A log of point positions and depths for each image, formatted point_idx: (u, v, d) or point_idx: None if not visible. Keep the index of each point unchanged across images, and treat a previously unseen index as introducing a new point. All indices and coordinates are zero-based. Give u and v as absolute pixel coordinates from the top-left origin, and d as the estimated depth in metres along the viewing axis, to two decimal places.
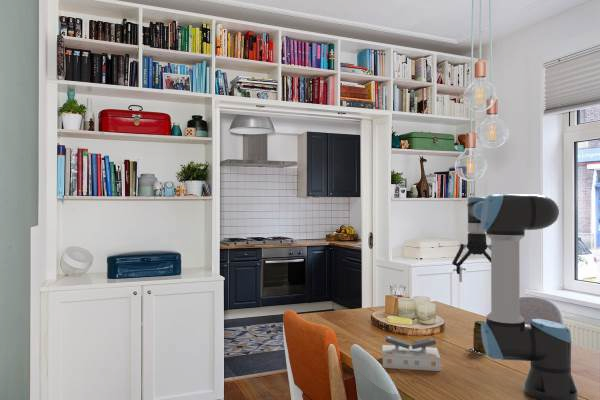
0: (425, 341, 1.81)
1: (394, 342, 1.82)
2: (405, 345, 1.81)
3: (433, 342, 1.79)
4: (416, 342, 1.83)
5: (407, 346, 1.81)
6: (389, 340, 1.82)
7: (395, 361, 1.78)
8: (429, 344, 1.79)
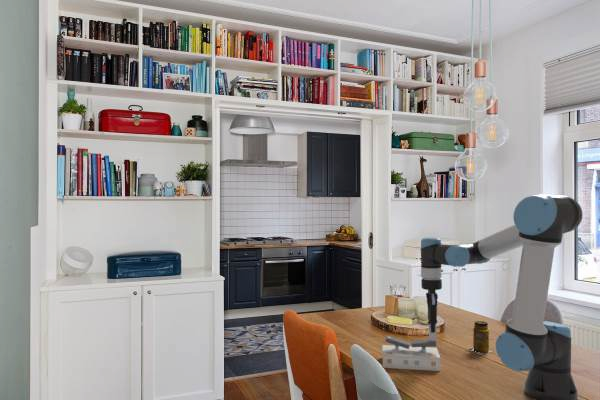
0: (426, 341, 1.81)
1: (394, 342, 1.82)
2: (405, 345, 1.81)
3: (434, 344, 1.79)
4: (416, 341, 1.83)
5: (407, 346, 1.81)
6: (389, 340, 1.82)
7: (395, 361, 1.78)
8: (429, 345, 1.79)
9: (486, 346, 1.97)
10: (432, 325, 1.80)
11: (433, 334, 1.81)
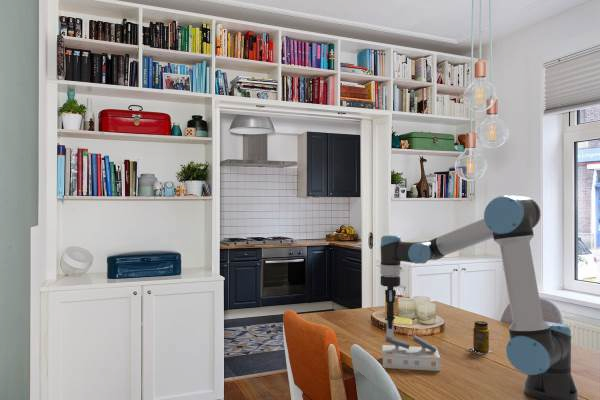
0: (427, 343, 1.81)
1: (394, 342, 1.82)
2: (405, 345, 1.81)
3: (434, 349, 1.79)
4: (419, 338, 1.83)
5: (407, 346, 1.81)
6: (389, 340, 1.82)
7: (395, 361, 1.78)
8: (429, 348, 1.79)
9: (486, 346, 1.97)
10: (389, 321, 1.82)
11: (390, 330, 1.83)
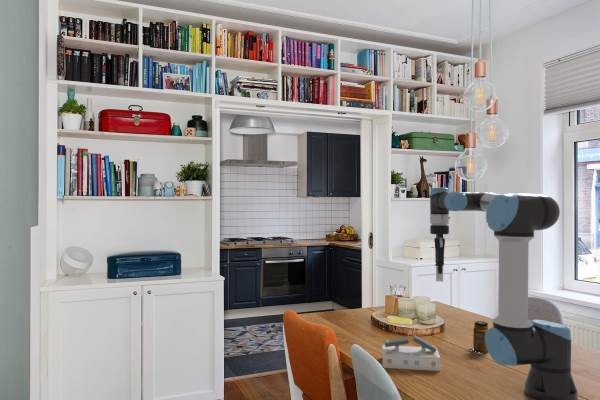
0: (427, 343, 1.81)
1: (393, 343, 1.82)
2: (404, 341, 1.81)
3: (434, 349, 1.79)
4: (419, 338, 1.83)
5: (406, 341, 1.81)
6: (388, 344, 1.82)
7: (395, 361, 1.78)
8: (429, 348, 1.79)
9: None
10: (439, 267, 1.97)
11: (440, 275, 1.98)
